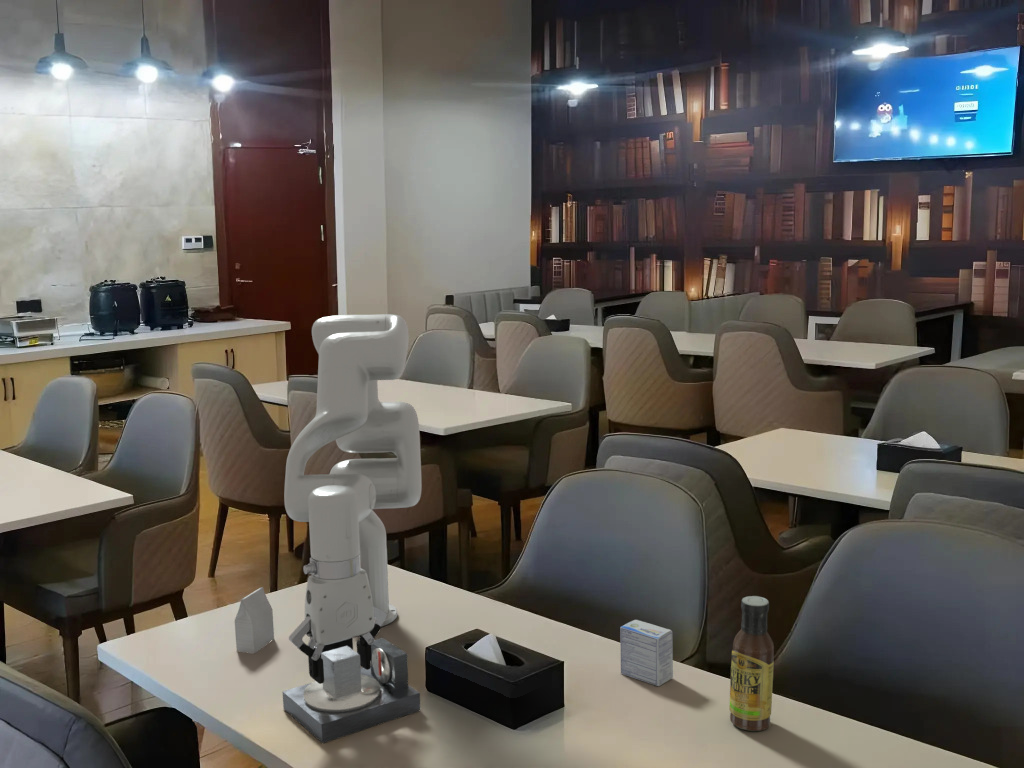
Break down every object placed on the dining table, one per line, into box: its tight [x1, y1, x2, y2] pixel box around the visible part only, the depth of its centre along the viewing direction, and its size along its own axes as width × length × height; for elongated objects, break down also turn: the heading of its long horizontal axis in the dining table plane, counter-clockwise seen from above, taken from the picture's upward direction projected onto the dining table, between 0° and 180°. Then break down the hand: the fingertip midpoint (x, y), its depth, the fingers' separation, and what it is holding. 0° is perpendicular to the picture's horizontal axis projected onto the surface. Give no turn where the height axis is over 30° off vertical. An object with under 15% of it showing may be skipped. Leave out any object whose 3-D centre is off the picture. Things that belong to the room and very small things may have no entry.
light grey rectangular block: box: [321, 646, 362, 699], centre depth 167 cm, size 4×4×6 cm
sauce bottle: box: [729, 595, 775, 732], centre depth 160 cm, size 6×6×20 cm
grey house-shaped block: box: [234, 587, 275, 654], centre depth 194 cm, size 4×7×10 cm, turn 161°
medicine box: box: [619, 619, 674, 687], centre depth 178 cm, size 8×4×9 cm, turn 47°
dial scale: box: [282, 637, 421, 744], centre depth 168 cm, size 14×17×9 cm
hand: (341, 672), depth 167 cm, fingers open, 7 cm apart
